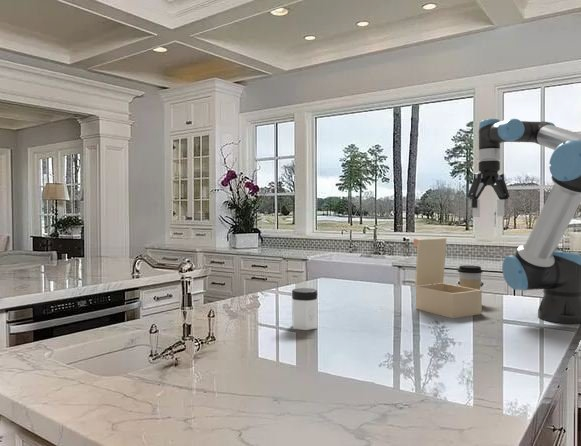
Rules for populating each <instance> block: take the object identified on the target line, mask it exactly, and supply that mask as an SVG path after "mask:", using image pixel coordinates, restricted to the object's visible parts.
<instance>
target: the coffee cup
mask: <svg viewBox="0 0 581 446" xmlns="http://www.w3.org/2000/svg"><path fill="white" fill-rule="evenodd" d="M457 272H458V273H459V286H461V287H466V288H472V289H477V290H481V286H482V285H481V284H482V283H481V282H482V274H483V269H482V267H481V266H479V265H468V264H466V265H459V268H457Z"/></svg>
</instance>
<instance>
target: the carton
mask: <svg viewBox="0 0 581 446" xmlns="http://www.w3.org/2000/svg"><path fill="white" fill-rule="evenodd" d="M415 286H416V285H415ZM482 294H483V293H482V290H481V289H480V290H477V289H472V288H466V287H461V286H460V285H455V284H450V283H444V282H443V283H437V284H428V285H418V286H416V287H415V309H416V310H419V311H423V312H426V313H431V314H434V315H439V316H442V317H447V318H450V319H458V318H465V317H471V316H477V315H482V310H483V309H482V306H483V305H482V304H483V303H482V296H483V295H482Z"/></svg>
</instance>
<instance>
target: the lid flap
mask: <svg viewBox="0 0 581 446" xmlns="http://www.w3.org/2000/svg"><path fill="white" fill-rule="evenodd" d="M412 246H413V247H415V248H417V250H416V266H415V278H414V279H415V280H414V285H415V286H423V285H433V284H442V283H444V281H445V279H444V278H445V276H444V275H445V267H446V266H445V265H446V263H445V262H446V250H447V237H438V238H437V237H435V238H419V237H418V238H413V245H412Z"/></svg>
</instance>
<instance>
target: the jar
mask: <svg viewBox="0 0 581 446" xmlns="http://www.w3.org/2000/svg"><path fill="white" fill-rule="evenodd" d="M318 317H319V316H318V290H317V289H316V288H311V287H310V288H309V287H307V288H306V287H302V288H300V287H299V288H293V289H292V290H291V326H292V329H294V330H299V331H309V330H311V331H312V330H316V329H318V328H319V327H318V326H319V325H318V323H319V322H318V319H319V318H318Z"/></svg>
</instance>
